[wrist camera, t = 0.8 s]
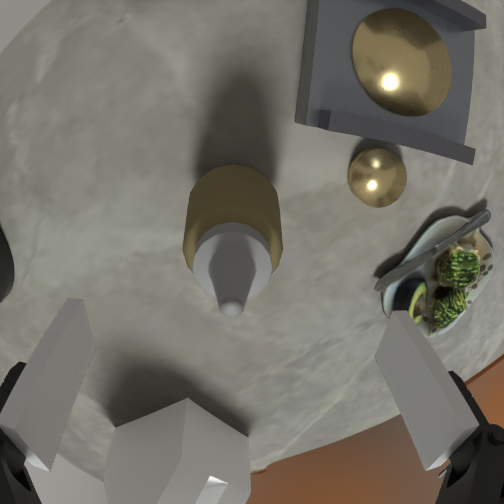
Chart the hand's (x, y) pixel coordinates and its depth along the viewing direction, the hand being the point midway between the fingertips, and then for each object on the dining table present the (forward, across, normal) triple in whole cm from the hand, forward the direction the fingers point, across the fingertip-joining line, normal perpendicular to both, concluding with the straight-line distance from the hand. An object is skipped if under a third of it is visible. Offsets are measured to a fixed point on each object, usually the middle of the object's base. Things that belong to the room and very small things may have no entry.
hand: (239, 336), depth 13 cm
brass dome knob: (+20, +14, +3) cm, 25 cm away
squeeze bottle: (+21, 0, 0) cm, 21 cm away
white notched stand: (+21, -8, -43) cm, 49 cm away
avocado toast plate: (+21, +27, -9) cm, 35 cm away
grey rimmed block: (+20, +13, +15) cm, 28 cm away
